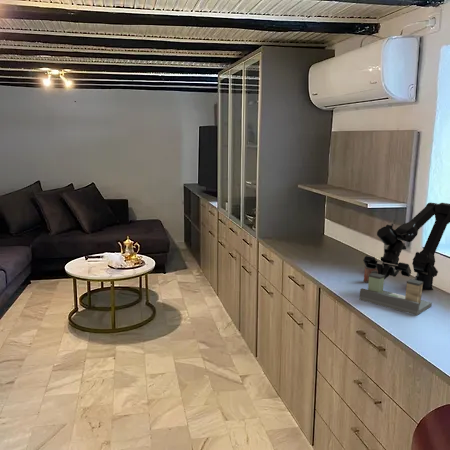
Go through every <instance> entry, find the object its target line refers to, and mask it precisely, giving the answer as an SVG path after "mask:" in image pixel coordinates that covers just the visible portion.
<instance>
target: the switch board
mask: <svg viewBox="0 0 450 450" xmlns="http://www.w3.org/2000/svg"><path fill="white" fill-rule="evenodd" d="M405 296H406V295H404V294H400V293H395V292H391V291H387V290H384V289H383V293H379V292H375V291H371V290H368V288H367V289H366V288H360V290H359V298H358V299H359V301H364V302H367V303H370V304H373V305H377V306H381V307H385V308H388V309H392V310H396V311H400V312H403V313H406V314H410V315H414V316H418V315H420V314H422V313H423V312H425V311H427V310H428V309H429V308H432V305H433V302H431V301H427V300H423V299H421V303H418V302H414V301H410V300H406V299H405Z"/></svg>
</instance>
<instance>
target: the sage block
mask: <svg viewBox="0 0 450 450" xmlns="http://www.w3.org/2000/svg"><path fill="white" fill-rule="evenodd" d="M384 277H385V275H381V274H377V273H372V274H369V283H367V284H368V285H367V290H371V291H375V292H379V293H383V290H384V285H385V283H384V282H385V280H384Z"/></svg>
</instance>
